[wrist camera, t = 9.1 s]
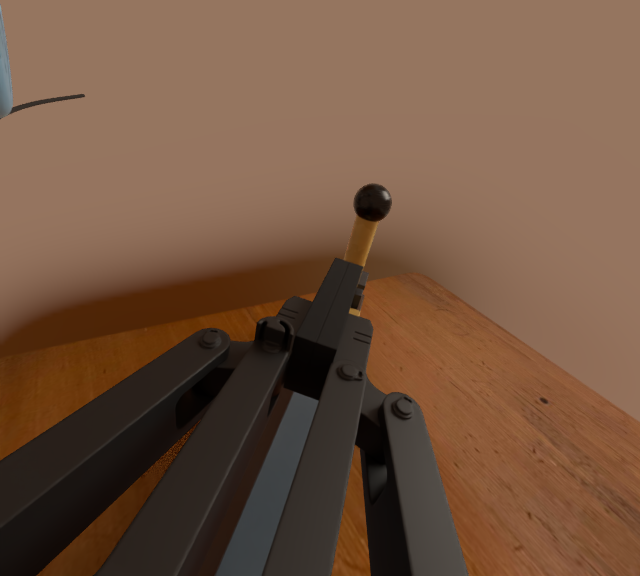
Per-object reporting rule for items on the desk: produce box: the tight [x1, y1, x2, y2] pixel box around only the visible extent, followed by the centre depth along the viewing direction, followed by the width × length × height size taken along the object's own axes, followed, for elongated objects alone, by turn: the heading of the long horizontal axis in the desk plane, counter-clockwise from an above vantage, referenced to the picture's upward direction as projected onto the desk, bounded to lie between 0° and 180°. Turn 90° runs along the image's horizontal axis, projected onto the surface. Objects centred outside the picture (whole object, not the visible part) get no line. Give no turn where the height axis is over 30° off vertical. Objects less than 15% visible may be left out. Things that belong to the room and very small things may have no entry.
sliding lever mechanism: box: [198, 271, 369, 576], centre depth 19 cm, size 29×7×9 cm, turn 165°
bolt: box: [344, 184, 392, 286], centre depth 23 cm, size 7×2×10 cm, turn 165°
